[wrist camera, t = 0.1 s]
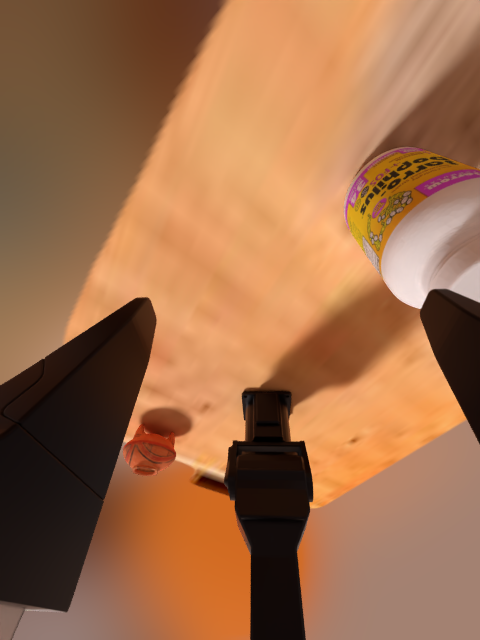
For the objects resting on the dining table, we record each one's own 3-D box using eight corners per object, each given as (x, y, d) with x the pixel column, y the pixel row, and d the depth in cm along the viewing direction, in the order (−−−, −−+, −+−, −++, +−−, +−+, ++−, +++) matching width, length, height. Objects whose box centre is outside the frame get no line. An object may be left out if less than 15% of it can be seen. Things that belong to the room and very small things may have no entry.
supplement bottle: (422, 120, 17) (642, 156, 8) (446, 206, 21) (622, 310, 11) (325, 187, 20) (394, 278, 10) (360, 254, 23) (438, 372, 14)
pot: (169, 418, 41) (163, 469, 37) (184, 432, 47) (180, 476, 43) (118, 421, 42) (106, 472, 38) (139, 435, 48) (132, 479, 44)
